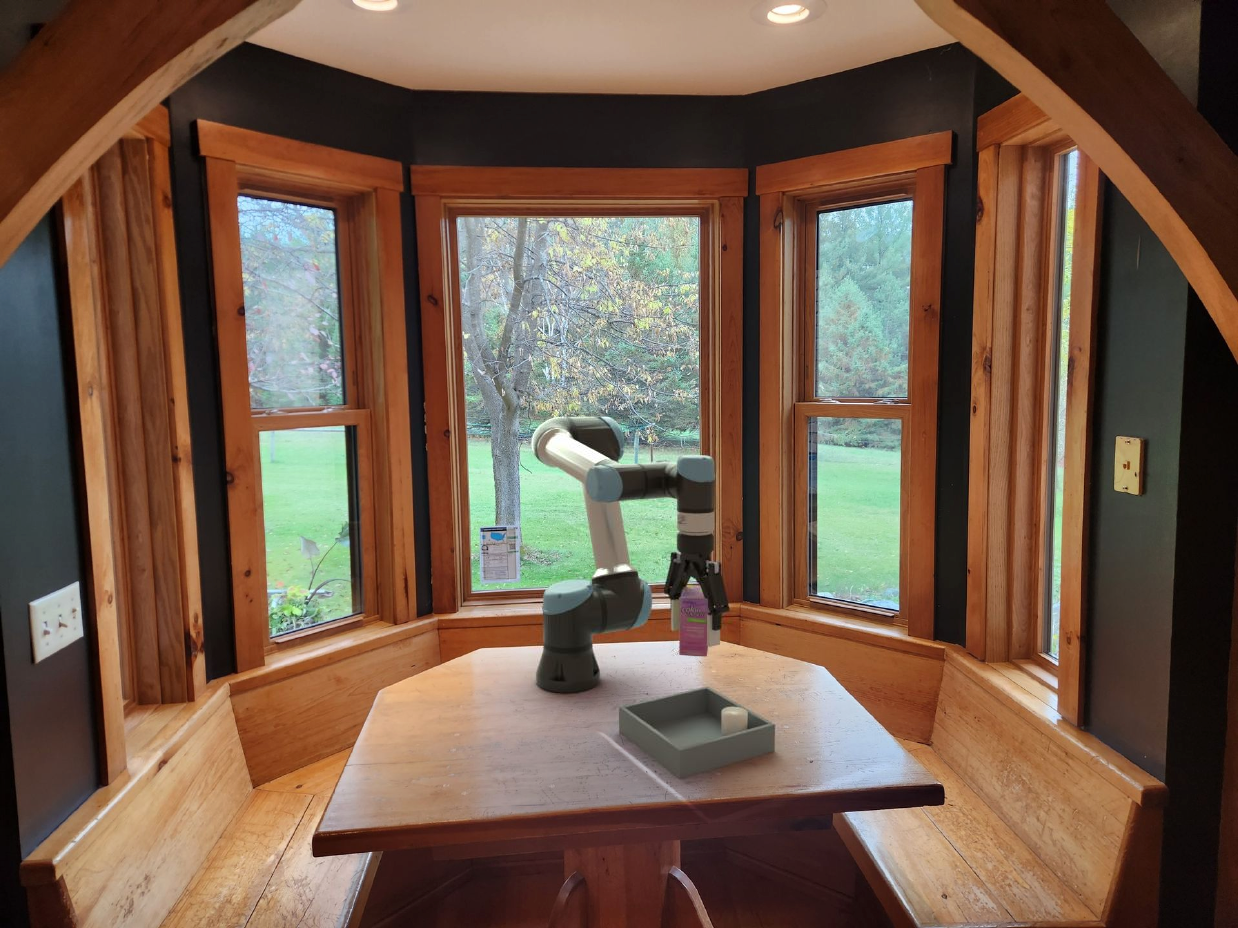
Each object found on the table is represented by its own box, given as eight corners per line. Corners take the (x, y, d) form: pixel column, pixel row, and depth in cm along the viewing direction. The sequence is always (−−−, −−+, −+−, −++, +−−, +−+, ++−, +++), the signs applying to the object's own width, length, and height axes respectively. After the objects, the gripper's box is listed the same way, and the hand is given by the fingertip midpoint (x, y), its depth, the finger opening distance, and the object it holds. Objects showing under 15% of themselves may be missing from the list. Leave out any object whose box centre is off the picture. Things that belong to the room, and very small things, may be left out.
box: (707, 656, 154) (708, 598, 153) (679, 655, 155) (679, 597, 154) (710, 640, 164) (710, 585, 163) (683, 639, 165) (683, 584, 164)
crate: (619, 735, 155) (619, 706, 155) (707, 713, 166) (707, 686, 165) (679, 783, 137) (679, 750, 136) (774, 754, 147) (775, 724, 147)
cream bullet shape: (716, 739, 152) (716, 709, 151) (736, 733, 154) (736, 704, 154) (731, 749, 148) (732, 719, 147) (752, 743, 150) (753, 713, 149)
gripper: (647, 525, 165) (647, 625, 167) (718, 543, 145) (717, 656, 147) (675, 522, 169) (675, 620, 171) (748, 539, 149) (747, 649, 151)
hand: (694, 637), depth 159 cm, fingers closed on box, 11 cm apart
